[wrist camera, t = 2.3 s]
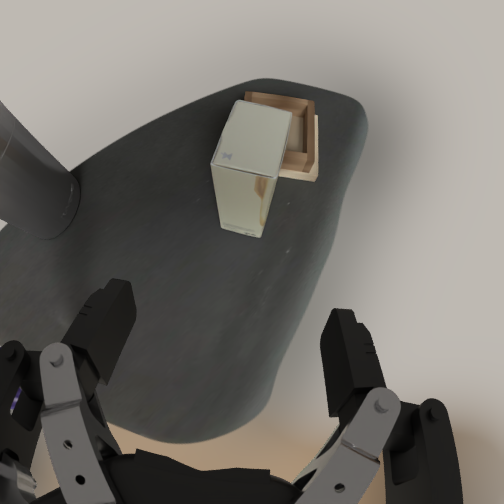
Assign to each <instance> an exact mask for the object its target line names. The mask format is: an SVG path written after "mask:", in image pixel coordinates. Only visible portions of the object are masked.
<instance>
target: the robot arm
mask: <svg viewBox="0 0 504 504" xmlns="http://www.w3.org/2000/svg"><path fill="white" fill-rule="evenodd" d="M79 200H80V188H79V184H78V181H77V180H76V178H75V177H74V176H73V175H72V174H71V173H70V172H69V171H68V170H67V169H65V167H63V166H62V165H61V164H60V162H58V161H57V160H56V159H55V158H54V157H53V156H52V155H51V154H50V153H49V152H48V151H47V150H46V149H45V148H44V147H43V146H42V145H41V144H40V143H39V142H38V141H37V140H36V139H35V138H34V137H33V136H32V135H31V134H30V132H29V131H28V130H27V129H26V128H25V127H24V126H23V125H22V124H21V123H20V122H19V121H18V120H17V119H16V118H15V117H14V116H13V114H12V113H11V112H10V111H9V110H8V109H7V108H6V107H5V106H4V105H3V103H2V102H1V101H0V219H1V220H4V221H5V222H7V223H9V224H11V225H13V226H15V227H17V228H19V229H21V230H23V231H25V232H28V233H30V234H32V235H34V236H36V237H38V238H40V239H45V240H47V239H52V238H54V237H57V236H58V235H59V234H61V233H62V232H63V231H64V230H65V229H66V228H67V227H68V225H69V224H70V223H71V221H72V219H73V217H74V216H75V214H76V211H77V208H78V205H79ZM135 320H136V305H135V301H134V296H133V291H132V286H131V283H130V282H129V281H125V280H119V279H114V278H112V279H111V280H110V281H109V282H108V284H107V285H106V287H105V288H104V289H99V290H97V291H96V292H95V293H93V294H92V295H91V296H90V297H89V298H88V300H87V301H86V303H85V304H84V307H82V309H81V310H80V312H79V314H78V315H77V317H76V318H75V320H74V321H73V323H72V324H71V326H70V328H69V329H68V331H67V333H66V334H65V336H64V337H63V339H62V341H61V342H60V343H53V344H50V345H49V346H47V347H46V348H45V349H44V350H43V351H26V350H25V348H24V347H23V345H22V344H21V343H20V342H19V341H15V340H13V341H9V342H7V343H5V344H4V345H3V346H2V347H1V349H0V504H358V502H359V501H360V499H361V498H362V496H363V494H364V493H365V491H366V489H367V488H368V486H369V485H370V483H371V482H372V480H373V478H374V476H375V475H376V473H377V471H378V469H379V467H380V461H379V460H378V457H379V455H380V453H381V451H382V450H383V460H384V472H385V489H386V504H463V494H462V484H461V477H460V469H459V463H458V457H457V452H456V447H455V442H454V437H453V432H452V428H451V424H450V420H449V416H448V412H447V409H446V407H445V406H444V404H443V403H442V402H441V401H439V400H437V399H433V398H430V399H427V400H425V401H424V402H423V403H422V404H421V405H416V404H412V403H407V402H403V401H400V400H399V398H398V397H397V395H396V394H395V393H394V392H393V391H391V390H389V389H387V387H386V384H385V381H384V377H383V373H382V370H381V367H380V363H379V360H378V356H377V354H376V350H375V346H373V344H374V343H373V340H372V337H371V334H370V332H369V331H368V330H367V328H366V327H365V326H364V324H363V323H357V321H356V318H355V315H354V312H353V311H352V310H351V309H338V308H337V309H336V308H334V309H333V310H332V311H331V314H330V316H329V318H328V321H327V323H326V325H325V328H324V330H323V332H322V335H321V339H320V350H321V357H322V363H323V371H324V378H325V386H326V394H327V402H328V410H329V417H339V425H338V426H337V427H336V429H335V430H334V431H333V433H332V434H331V436H330V437H329V439H328V440H327V442H326V443H325V444H324V446H323V447H322V448H321V450H320V451H319V452H318V454H317V455H316V456H315V457H314V459H313V460H312V461H311V462H310V463H309V464H308V465H307V466H306V467H305V468H304V469H303V470H302V471H301V472H300V474H299V475H298V476H297V477H296V478H295V479H294V481H293V482H292V483H290V482H288V481H286V480H284V479H282V478H279V477H276V476H273V475H270V470H266V469H247V468H230V469H220V470H209V471H200V470H197V469H194V468H192V467H189V466H187V465H184V464H182V463H180V462H178V461H176V460H174V459H171V458H169V457H167V456H162V455H158V454H154V453H151V452H147V451H143V450H140V449H136V453H135V454H122V452H121V450H120V448H119V446H118V444H117V442H116V440H115V439H114V437H113V435H112V434H111V432H110V430H109V427H108V425H107V422H106V419H105V417H104V414H103V411H102V408H101V405H100V402H99V399H98V396H97V392H96V390H95V388H96V386H97V383H100V384H103V385H106V386H107V385H108V382H109V380H110V377H111V375H112V373H113V370H114V368H115V365H116V363H117V361H118V358H119V356H120V354H121V352H122V349H123V347H124V345H125V343H126V340H127V338H128V336H129V334H130V332H131V329H132V327H133V325H134V323H135ZM19 388H20V389H21V393H20V395H19V398H18V400H17V402H16V405H15V407H14V410H13V413H12V415H11V414H10V409H11V406H12V403H13V401H14V398H15V396H16V394H17V391H18V389H19ZM42 428H43V432H44V436H45V440H46V444H47V448H48V452H49V455H50V459H51V462H52V465H53V468H54V471H55V474H56V477H57V480H58V483H59V485H60V487H59V488H57V489H55V490H53V491H51V492H49V493H47V494H46V495H43V496H41V497H39V498H37V499H36V497H35V495H34V489H35V488H36V486H37V484H36V481H35V480H34V479H33V477H32V474H31V472H30V467H31V463H32V459H33V456H34V452H35V448H36V445H37V441H38V438H39V435H40V432H41V429H42Z"/></svg>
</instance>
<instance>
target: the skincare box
mask: <svg viewBox="0 0 504 504" xmlns="http://www.w3.org/2000/svg"><path fill="white" fill-rule="evenodd" d="M291 119H292V112H289V111H285V110H281V109H278V108H274V107H270V106H265V105H261V104H257V103H252V102H247V101H242V100H237V101H236V102H235V104H234V106H233V109H232V111H231V113H230V115H229V118H228V120H227V122H226V125H225V127H224V129H223V132H222V135H221V137H220V140H219V142H218V145H217V147H216V150H215V153H214V155H213V158H212V161H211V164H210V165H211V171H212V177H213V183H214V189H215V195H216V200H217V207H218V212H219V218H220V224H221V228H223V229H227V230H230V231H234V232H237V233H241V234H245V235H249V236H254V237H261V235H262V232H263V229H264V225H265V222H266V218H267V215H268V211H269V207H270V204H271V200H272V196H273V193H274V189H275V186H276V182H277V178H278V175H279V171H280V168H281V164H282V161H283V157H284V153H285V149H286V145H287V140H288V135H289V130H290V125H291Z"/></svg>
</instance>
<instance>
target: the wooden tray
mask: <svg viewBox="0 0 504 504" xmlns="http://www.w3.org/2000/svg"><path fill="white" fill-rule="evenodd" d="M244 101H247V102H252V103H257V104H261V105H265V106H270V107H274V108H278V109H281V110H285V111H289V112H292V119H291V125H290V130H289V135H288V140H287V145H286V149H285V153H284V157H283V161H282V164H281V168H280V171H279V175H278V176H281V177H288V178H294V179H301V180H307V181H313V182H315V180H316V178H317V176H318V115H315V112H314V101H310V100H305V99H299V98H293V97H287V96H281V95H273V94H266V93H257V92H248V91H246V93H245V97H244Z"/></svg>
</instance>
